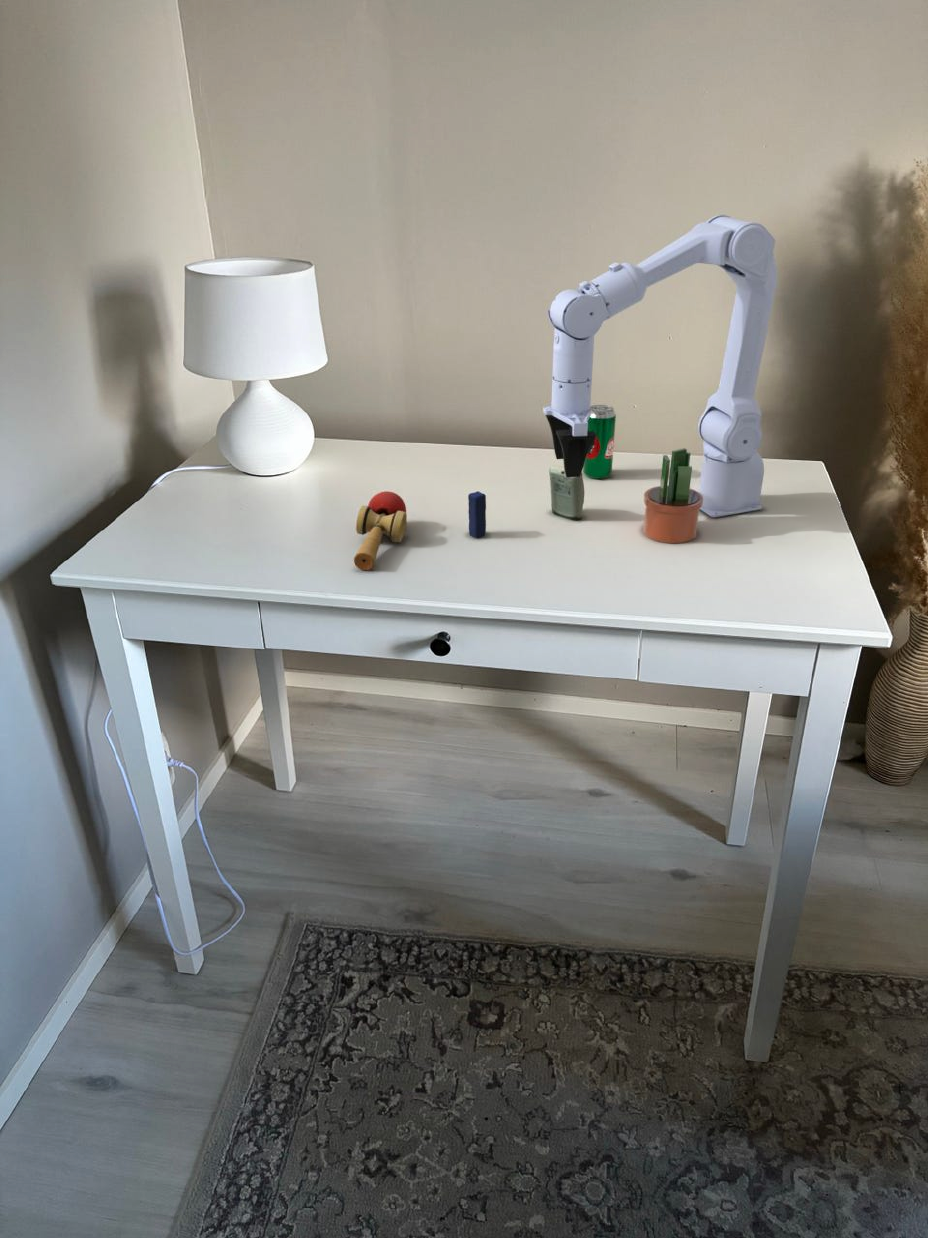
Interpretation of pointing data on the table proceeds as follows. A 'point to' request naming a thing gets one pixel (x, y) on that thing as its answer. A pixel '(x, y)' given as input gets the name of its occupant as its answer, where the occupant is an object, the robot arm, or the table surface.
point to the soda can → (600, 442)
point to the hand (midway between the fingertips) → (567, 467)
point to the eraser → (477, 514)
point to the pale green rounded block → (566, 494)
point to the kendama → (379, 525)
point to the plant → (673, 502)
